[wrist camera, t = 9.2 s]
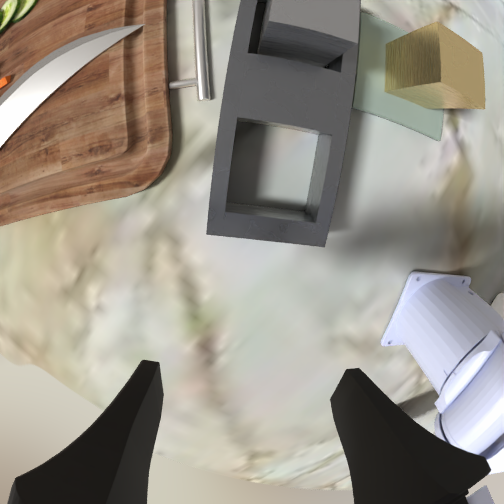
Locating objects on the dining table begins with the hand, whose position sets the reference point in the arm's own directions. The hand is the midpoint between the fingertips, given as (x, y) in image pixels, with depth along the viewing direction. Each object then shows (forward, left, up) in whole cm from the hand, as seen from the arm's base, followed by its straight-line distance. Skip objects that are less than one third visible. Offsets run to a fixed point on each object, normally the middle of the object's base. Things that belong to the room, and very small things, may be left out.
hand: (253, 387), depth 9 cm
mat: (-10, -16, -10) cm, 21 cm away
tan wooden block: (-10, -16, -10) cm, 21 cm away
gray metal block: (-1, -16, -10) cm, 19 cm away
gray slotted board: (-1, -12, -10) cm, 16 cm away
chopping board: (+27, -14, -11) cm, 32 cm away
